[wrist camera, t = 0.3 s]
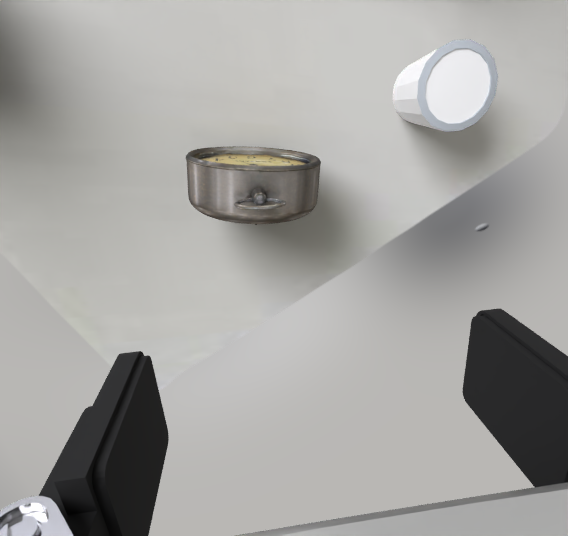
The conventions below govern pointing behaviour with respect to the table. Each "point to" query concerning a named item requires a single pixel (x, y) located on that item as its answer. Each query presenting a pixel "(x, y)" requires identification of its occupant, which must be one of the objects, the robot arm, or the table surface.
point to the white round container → (447, 87)
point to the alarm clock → (252, 183)
